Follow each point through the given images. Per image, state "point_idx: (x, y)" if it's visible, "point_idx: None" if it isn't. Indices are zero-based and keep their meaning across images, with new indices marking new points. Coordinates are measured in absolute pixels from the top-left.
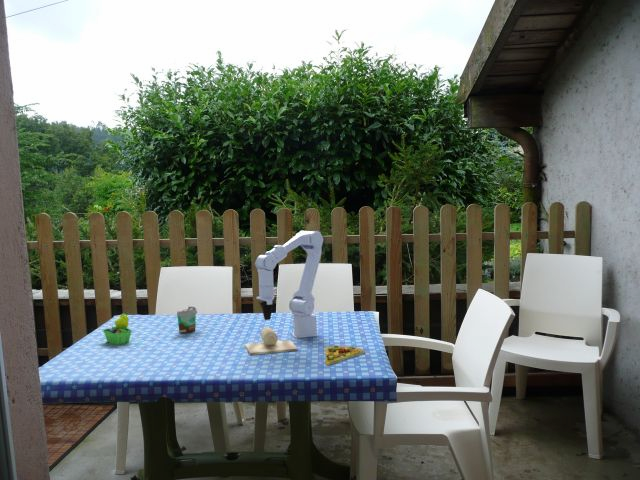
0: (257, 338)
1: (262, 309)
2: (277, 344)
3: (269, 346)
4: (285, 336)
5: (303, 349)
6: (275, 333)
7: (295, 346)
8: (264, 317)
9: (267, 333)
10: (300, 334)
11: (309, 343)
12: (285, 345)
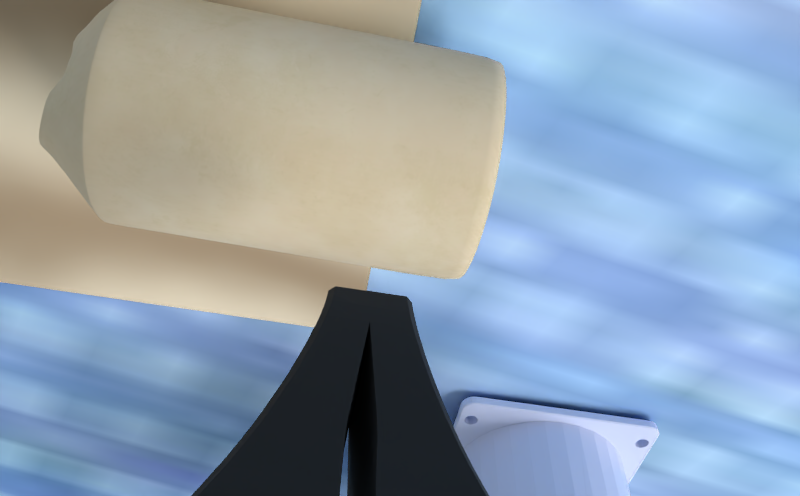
0: (795, 65)
1: (379, 483)
2: None
3: None
4: (616, 353)
5: (10, 316)
6: (195, 237)
7: (53, 287)
8: (319, 319)
9: (77, 108)
10: (470, 458)
11: (220, 417)
12: None
